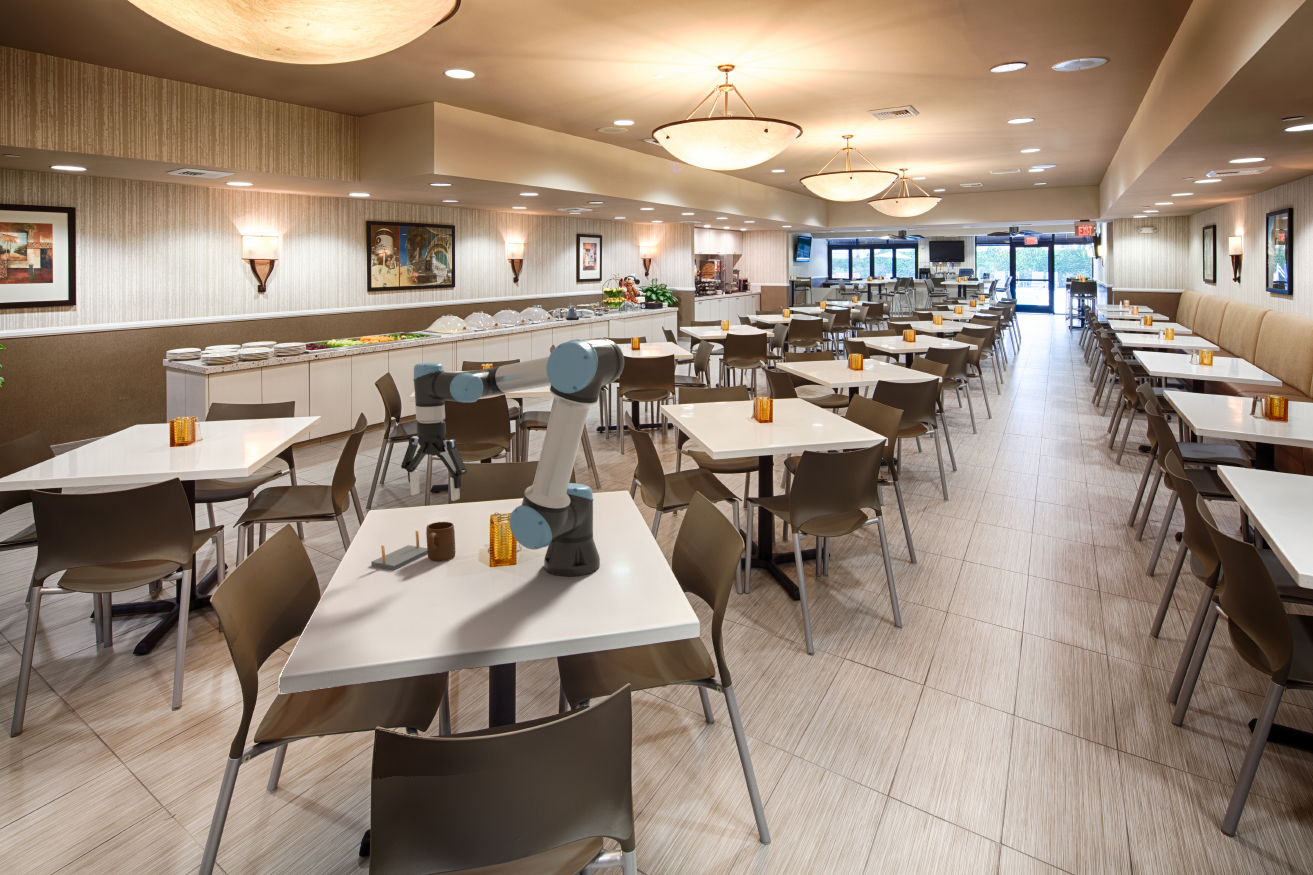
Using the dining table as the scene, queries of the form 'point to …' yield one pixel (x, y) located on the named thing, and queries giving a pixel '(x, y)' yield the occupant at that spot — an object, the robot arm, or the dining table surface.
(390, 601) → the dining table surface
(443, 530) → the mug
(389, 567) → the grey pegged flat base
